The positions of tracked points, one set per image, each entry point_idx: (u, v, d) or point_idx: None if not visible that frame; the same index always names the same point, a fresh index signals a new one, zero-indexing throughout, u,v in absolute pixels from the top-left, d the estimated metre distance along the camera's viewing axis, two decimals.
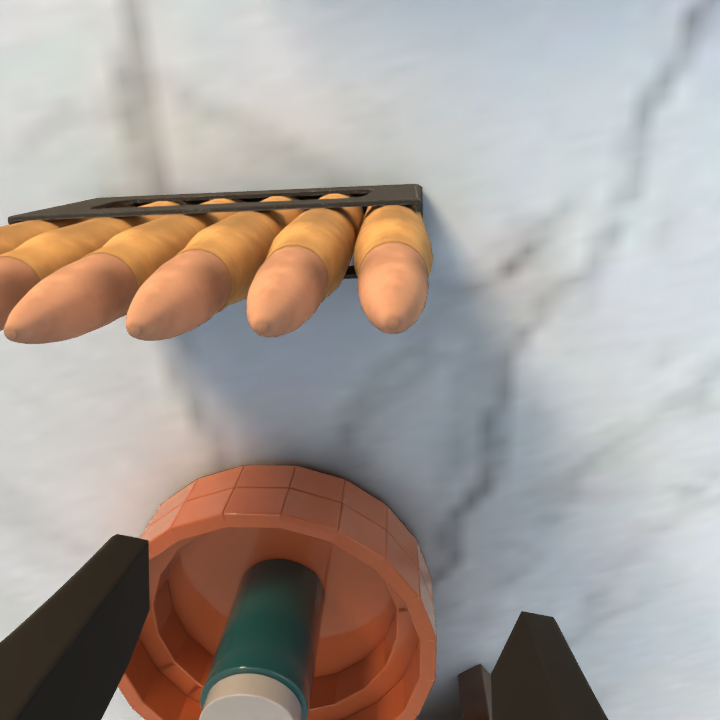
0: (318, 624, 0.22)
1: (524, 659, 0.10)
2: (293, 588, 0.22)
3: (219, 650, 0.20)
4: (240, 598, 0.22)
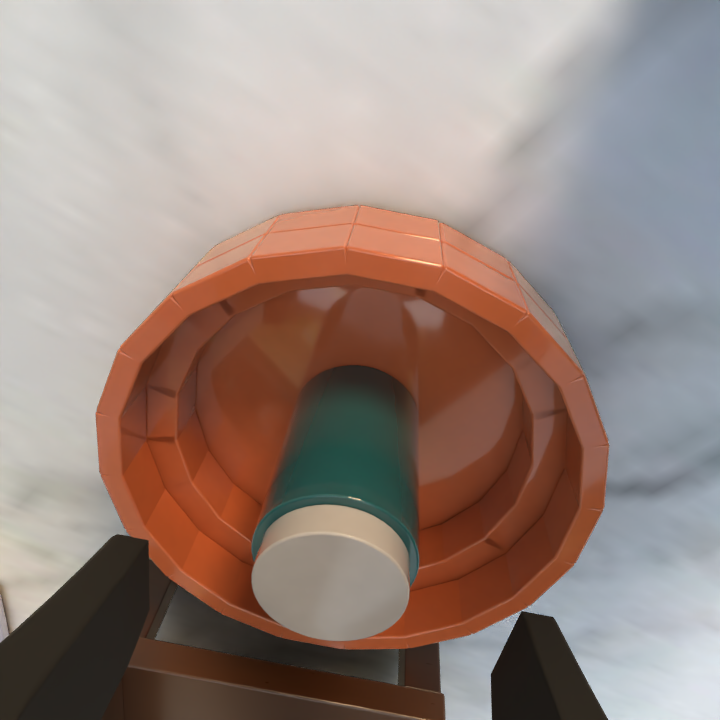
0: None
1: (524, 659, 0.10)
2: (416, 436, 0.15)
3: (335, 457, 0.13)
4: (357, 399, 0.14)
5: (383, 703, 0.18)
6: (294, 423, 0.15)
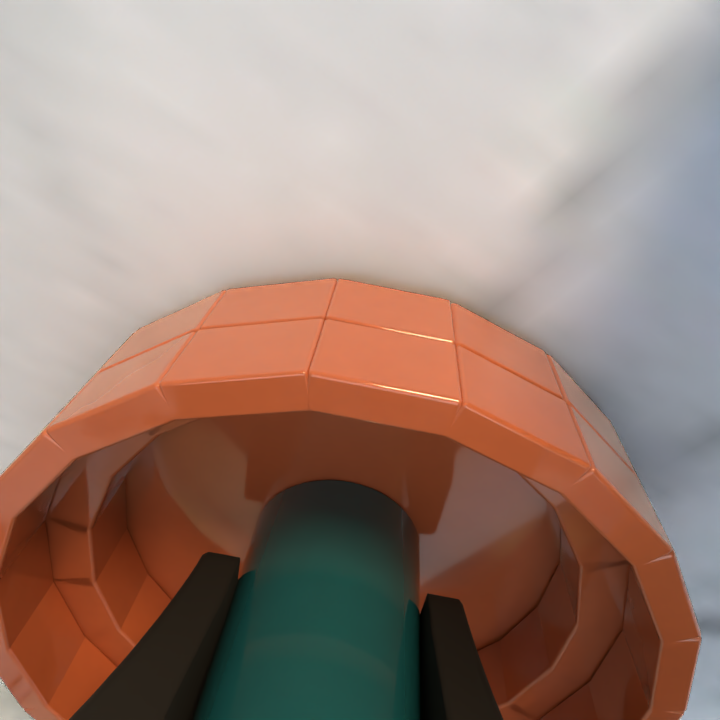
0: None
1: (425, 640, 0.10)
2: (416, 584, 0.11)
3: (295, 665, 0.08)
4: (334, 545, 0.10)
5: None
6: (247, 575, 0.11)
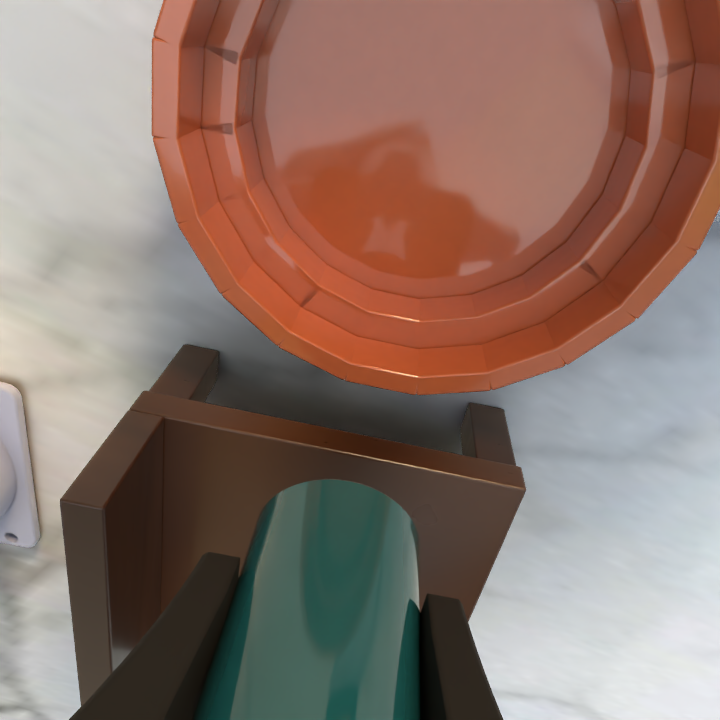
0: None
1: (424, 640, 0.10)
2: (416, 584, 0.11)
3: (295, 664, 0.08)
4: (333, 544, 0.10)
5: (456, 468, 0.16)
6: (246, 574, 0.11)
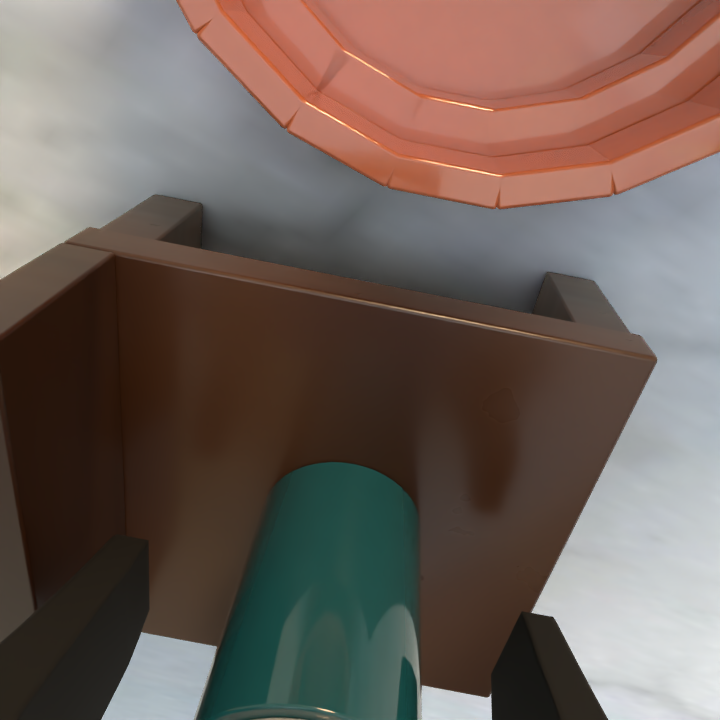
0: None
1: (524, 659, 0.10)
2: (418, 561, 0.12)
3: (303, 629, 0.09)
4: (338, 522, 0.11)
5: (551, 331, 0.11)
6: (256, 550, 0.11)
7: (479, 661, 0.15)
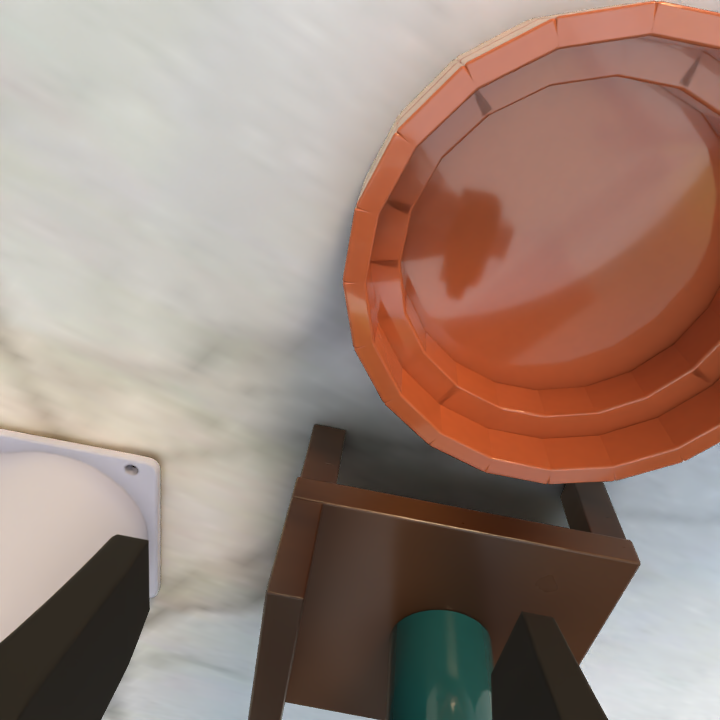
0: None
1: (524, 659, 0.10)
2: None
3: None
4: (451, 657, 0.18)
5: (577, 544, 0.18)
6: (400, 673, 0.19)
7: None
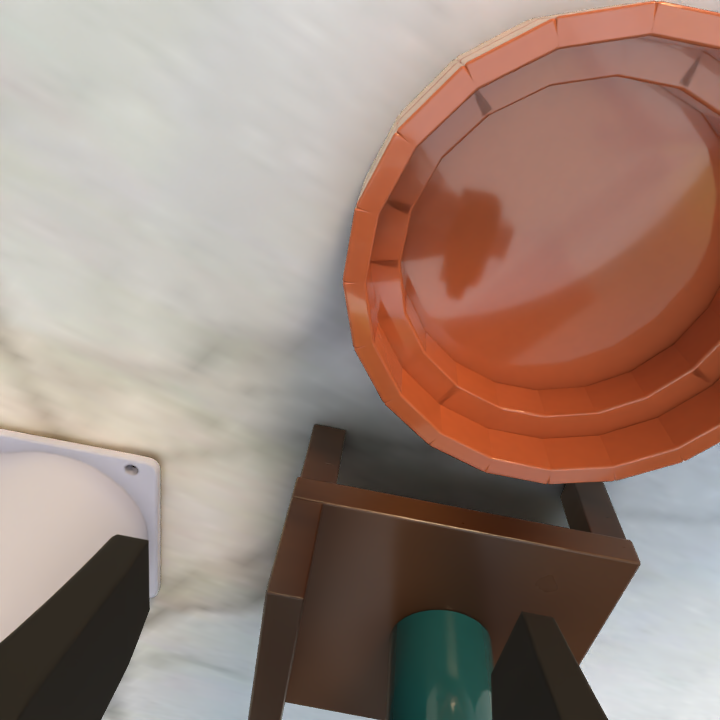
0: None
1: (524, 659, 0.10)
2: None
3: None
4: (451, 657, 0.18)
5: (577, 544, 0.18)
6: (400, 673, 0.19)
7: None
